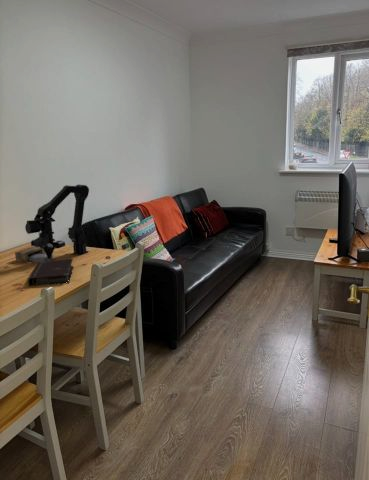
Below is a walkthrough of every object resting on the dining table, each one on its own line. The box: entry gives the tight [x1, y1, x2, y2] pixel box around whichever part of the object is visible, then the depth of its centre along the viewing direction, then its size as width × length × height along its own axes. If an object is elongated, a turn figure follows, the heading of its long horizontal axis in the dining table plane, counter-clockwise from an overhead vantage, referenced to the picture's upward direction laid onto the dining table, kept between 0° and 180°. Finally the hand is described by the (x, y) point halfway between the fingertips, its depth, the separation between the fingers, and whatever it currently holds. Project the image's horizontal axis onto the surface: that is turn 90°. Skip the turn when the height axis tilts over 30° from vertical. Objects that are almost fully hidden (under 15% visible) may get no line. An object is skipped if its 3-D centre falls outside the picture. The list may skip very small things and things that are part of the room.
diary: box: [27, 258, 74, 287], centre depth 190 cm, size 19×25×5 cm
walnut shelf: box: [14, 245, 46, 263], centre depth 219 cm, size 7×15×5 cm, turn 158°
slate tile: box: [28, 253, 54, 263], centre depth 217 cm, size 12×8×2 cm, turn 69°
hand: (49, 258), depth 215 cm, fingers closed
